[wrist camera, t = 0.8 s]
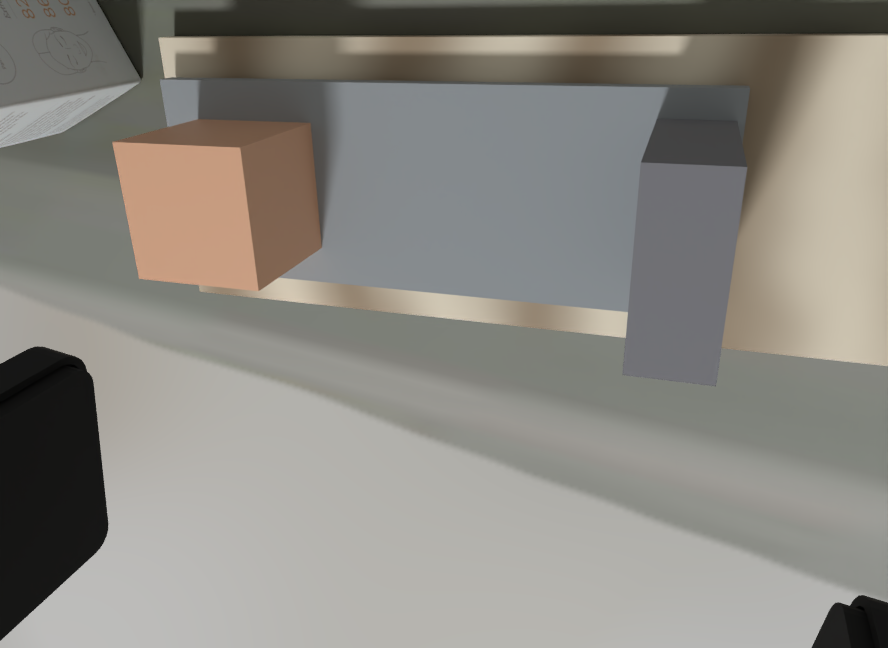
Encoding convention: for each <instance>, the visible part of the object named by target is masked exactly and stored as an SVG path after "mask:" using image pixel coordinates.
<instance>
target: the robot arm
mask: <svg viewBox="0 0 888 648" xmlns="http://www.w3.org/2000/svg"><path fill="white" fill-rule="evenodd" d="M107 531H108V517H107V507H106V498H105V488H104V480H103V470H102V460H101V450H100V441H99V432H98V422H97V412H96V403H95V393H94V384H93V379H92V377H91V375H90V374H89V373H88V372H87V370H86V366H85V364H84V363H83V361H82V360H81V359H79V358H77V357H75V356H72V355H68V354H65V353H61V352H58V351H55V350H52V349H48V348H45V347H33V348H30V349H28V350H26V351H24V352H22V353H20V354H18V355H16V356H15V357H13V358H11V359H9V360H7V361H5V362H3V363H1V364H0V640H2V639H3V638H4V637H5V636H6V635H7V634H8V633H9V632H10V631H11V630H12V629H14V627H16V626H17V625H18V624H19V623H20V622H21V621H22V620H23V619H24V618H26V617H27V616H28V615H29V614H30V613H31V612H32V611H33V610H34V609H35V608H36V607H37V606H39V604H41V603H42V602H43V601H44V600H45V599H46V598H47V597H48V596H49V595H51V594H52V593H53V592H54V591H55V590H56V589H57V588H58V587H59V586H60V585H61V584H63V582H65V581H66V580H67V579H68V578H69V577H70V576H71V575H72V574H73V573H74V572H76V571H77V570H78V569H79V568H80V567H81V566H82V565H83V564H84V563H85V562H86V561H88V559H90V558H91V557H92V556H93V555H94V554H95V553H96V552H97V551H98V550H99V549H100V547H101V546H102V544H103V542H104V540H105V538H106V536H107ZM812 648H888V603H887V602H884V601H880V600H877V599H874V598H870V597H867V596H864V595H861V596H858V597H857V598H855V599H854V600H853V602H852V604H851V605H850V606H848V605H845V604H842V603H835V604H834V605H833V606H832V607H831V609H830V611H829V612H828V615H827V617H826V619H825V621H824V623H823V625H822V627H821V629H820V631H819V633H818V636H817V638H816V640H815V642H814V644H813V646H812Z"/></svg>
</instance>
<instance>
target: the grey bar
mask: <svg viewBox="0 0 888 648" xmlns="http://www.w3.org/2000/svg"><path fill="white" fill-rule="evenodd" d="M160 84H161V90H162V96H163V102H164V108H165V114H166V120H167V126H168V127H170V126H174V125H178V124H182V123H185V122H189V121H193V120H197V119H209V120H240V121H270V122H301V123H311V133H312V144H313V155H314V166H315V177H316V188H317V200H318V211H319V222H320V233H321V244H322V248H321V249H319V250H318V251H317V252H315V253H314V254H312V255H311V256H309V257H308V258H306V259H305V260H303V261H302V262H301V263H299V264H298V265H296V266H295V267H293V268H292V269H290V270H289V271H287V272H286V273H285V274H283V275H282V276H280V277H279V278H287V279H297V280H307V281H317V282H327V283H338V284H348V285H358V286H368V287H378V288H388V289H398V290H408V291H419V292H429V293H439V294H449V295H459V296H469V297H479V298H489V299H500V300H510V301H520V302H530V303H540V304H550V305H560V306H570V307H581V308H591V309H601V310H611V311H621V312H628V317H627V329H626V341H625V352H624V364H623V375H627V376H636V377H644V378H652V379H660V380H668V381H676V382H685V383H693V384H701V385H709V386H716V383H717V376H718V369H719V362H720V355H721V348H722V341H723V334H724V327H725V320H726V313H727V306H728V299H729V292H730V285H731V278H732V271H733V264H734V257H735V250H736V243H737V236H738V229H739V222H740V215H741V208H742V201H743V194H744V187H745V180H746V173H747V163H746V158H745V154H744V149H743V145H742V144H743V136H744V129H745V122H746V115H747V108H748V100H749V93H750V87H749V86H738V85H669V84H599V83H530V82H461V81H392V80H323V79H253V78H184V77H171V78H166V79H160Z"/></svg>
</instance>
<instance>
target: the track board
mask: <svg viewBox="0 0 888 648" xmlns="http://www.w3.org/2000/svg"><path fill="white" fill-rule="evenodd" d="M159 44H160V50H161V56H162V62H163V68H164V75H165V79H166V78H171V77H184V78H253V79H323V80H392V81H461V82H530V83H599V84H669V85H738V86H749V87H750V93H749V100H748V108H747V115H746V122H745V129H744V136H743V144H742V145H743V149H744V154H745V158H746V163H747V173H746V180H745V187H744V194H743V201H742V208H741V215H740V222H739V229H738V236H737V243H736V250H735V257H734V264H733V271H732V278H731V285H730V292H729V299H728V306H727V313H726V320H725V327H724V334H723V341H722V348H725V349H735V350H744V351H753V352H762V353H772V354H781V355H790V356H799V357H809V358H818V359H827V360H836V361H845V362H855V363H864V364H873V365H882V366H888V33H887V34H624V35H361V36H171V37H161V38H159ZM199 290H200V292H208V293H217V294H227V295H236V296H245V297H254V298H264V299H273V300H282V301H291V302H301V303H310V304H319V305H328V306H338V307H347V308H356V309H365V310H374V311H384V312H393V313H402V314H411V315H421V316H430V317H439V318H448V319H458V320H467V321H476V322H485V323H495V324H504V325H513V326H522V327H531V328H541V329H550V330H559V331H568V332H578V333H587V334H596V335H605V336H615V337H624V338H626V329H627V317H628V312H621V311H611V310H601V309H591V308H581V307H570V306H560V305H550V304H540V303H530V302H520V301H510V300H500V299H489V298H479V297H469V296H459V295H449V294H439V293H429V292H419V291H408V290H398V289H388V288H378V287H368V286H358V285H348V284H338V283H327V282H317V281H307V280H297V279H287V278H277V279H276V280H274V281H273V282H271V283H270V284H269V285H267V286H266V287H264V288H263V289H261V290H260V291H251V290H241V289H232V288H222V287H213V286H204V285H199Z"/></svg>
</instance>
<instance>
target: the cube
mask: <svg viewBox="0 0 888 648" xmlns="http://www.w3.org/2000/svg"><path fill="white" fill-rule="evenodd" d="M113 147H114V152H115V157H116V162H117V168H118V173H119V178H120V183H121V188H122V193H123V198H124V203H125V208H126V213H127V218H128V224H129V229H130V234H131V239H132V244H133V249H134V254H135V259H136V264H137V269H138V275H139V279H147V280H156V281H166V282H175V283H185V284H194V285H204V286H213V287H222V288H232V289H241V290H251V291H260V290H261V289H263V288H264V287H266V286H267V285H269V284H270V283H271V282H273V281H274V280H276V279H277V278H279V277H280V276H282V275H283V274H285V273H286V272H287V271H289V270H290V269H292V268H293V267H295V266H296V265H298V264H299V263H301V262H302V261H303V260H305V259H306V258H308V257H309V256H311V255H312V254H314V253H315V252H317V251H318V250H319V249H321V248H322V244H321V233H320V222H319V211H318V200H317V188H316V177H315V166H314V155H313V144H312V133H311V123H301V122H270V121H240V120H209V119H197V120H193V121H189V122H185V123H182V124H178V125H174V126H170V127H167V128H163V129H159V130H155V131H152V132H148V133H144V134H140V135H137V136H133V137H129V138H126V139H122V140H118V141H114V142H113Z"/></svg>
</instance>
